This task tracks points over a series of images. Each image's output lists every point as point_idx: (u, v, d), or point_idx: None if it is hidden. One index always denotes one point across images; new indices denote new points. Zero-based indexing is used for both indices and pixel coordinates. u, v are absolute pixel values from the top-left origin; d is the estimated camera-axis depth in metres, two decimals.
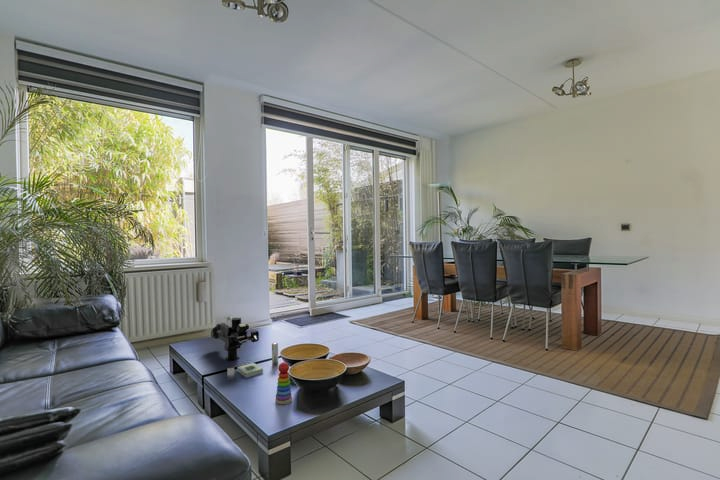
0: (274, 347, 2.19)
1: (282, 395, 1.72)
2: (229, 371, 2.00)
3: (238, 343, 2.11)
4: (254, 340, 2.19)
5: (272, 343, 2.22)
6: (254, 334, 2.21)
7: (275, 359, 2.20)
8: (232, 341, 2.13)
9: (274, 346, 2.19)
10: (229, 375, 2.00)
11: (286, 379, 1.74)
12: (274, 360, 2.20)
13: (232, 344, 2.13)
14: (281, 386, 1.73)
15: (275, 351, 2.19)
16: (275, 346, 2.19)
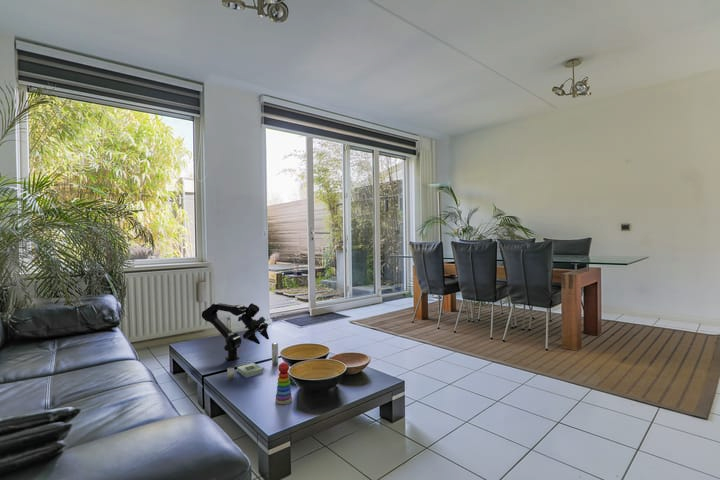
0: (274, 347, 2.19)
1: (282, 395, 1.72)
2: (229, 371, 2.00)
3: (255, 341, 2.19)
4: (264, 335, 2.29)
5: (272, 343, 2.22)
6: (266, 329, 2.30)
7: (275, 359, 2.20)
8: (250, 336, 2.18)
9: (274, 346, 2.19)
10: (229, 375, 2.00)
11: (286, 379, 1.74)
12: (274, 360, 2.20)
13: (248, 338, 2.18)
14: (281, 386, 1.73)
15: (275, 351, 2.19)
16: (275, 346, 2.19)
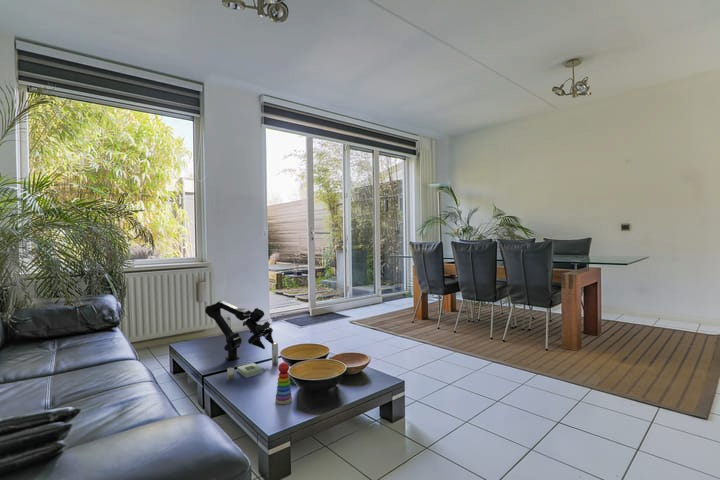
0: (274, 347, 2.19)
1: (282, 395, 1.72)
2: (229, 371, 2.00)
3: (260, 346, 2.18)
4: (269, 340, 2.28)
5: (272, 343, 2.22)
6: (270, 334, 2.29)
7: (275, 359, 2.20)
8: (255, 341, 2.17)
9: (274, 346, 2.19)
10: (229, 375, 2.00)
11: (286, 379, 1.74)
12: (274, 360, 2.20)
13: (253, 343, 2.17)
14: (281, 386, 1.73)
15: (275, 351, 2.19)
16: (275, 346, 2.19)
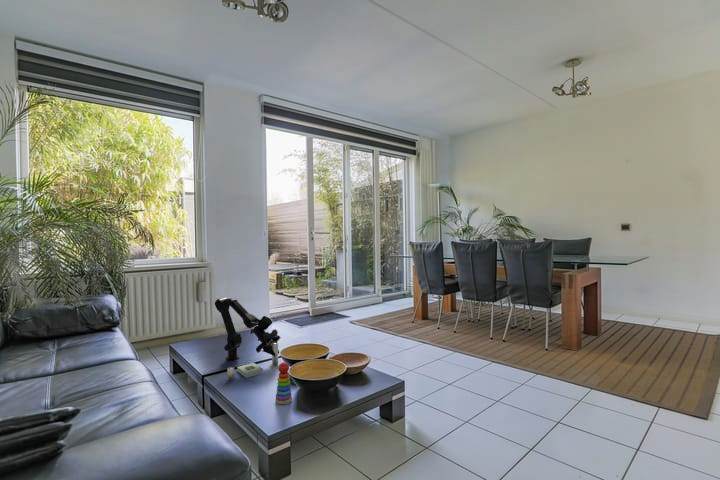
0: (274, 347, 2.19)
1: (282, 395, 1.72)
2: (229, 371, 2.00)
3: (271, 353, 2.19)
4: None
5: (272, 343, 2.22)
6: None
7: (275, 359, 2.20)
8: (266, 348, 2.17)
9: (274, 346, 2.19)
10: (229, 375, 2.00)
11: (286, 379, 1.74)
12: (274, 360, 2.20)
13: (264, 350, 2.18)
14: (281, 386, 1.73)
15: (275, 351, 2.19)
16: (275, 346, 2.19)
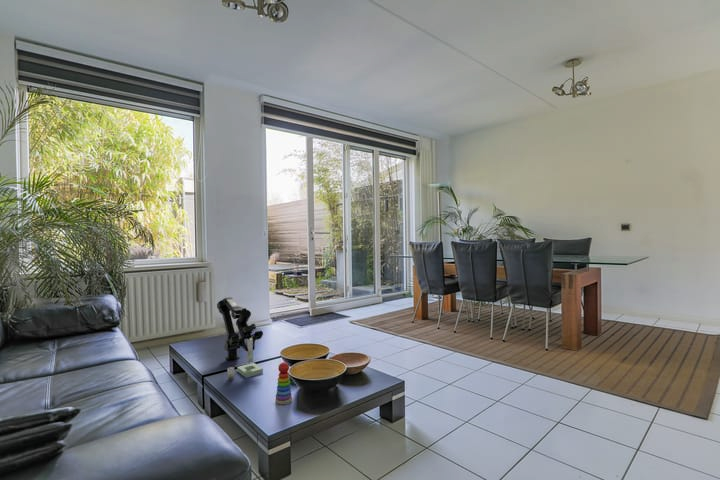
0: (247, 342, 2.09)
1: (282, 395, 1.72)
2: (229, 371, 2.00)
3: (244, 347, 2.09)
4: None
5: (248, 338, 2.12)
6: (254, 338, 2.13)
7: (248, 355, 2.09)
8: (239, 341, 2.09)
9: (247, 341, 2.09)
10: (229, 375, 2.00)
11: (286, 379, 1.74)
12: (247, 356, 2.09)
13: (238, 343, 2.10)
14: (281, 386, 1.73)
15: (248, 346, 2.09)
16: (248, 341, 2.08)
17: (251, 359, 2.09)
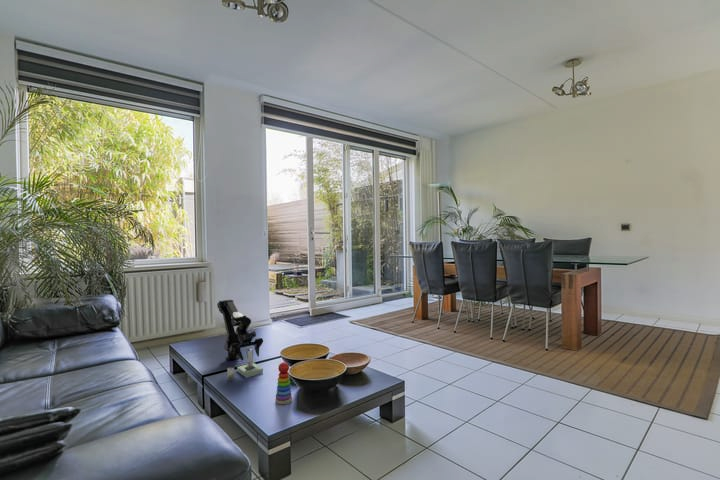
0: (247, 353, 2.09)
1: (282, 395, 1.72)
2: (229, 371, 2.00)
3: (239, 356, 2.07)
4: (256, 351, 2.15)
5: (248, 349, 2.12)
6: (258, 345, 2.15)
7: (248, 366, 2.09)
8: (235, 350, 2.08)
9: (247, 352, 2.09)
10: (229, 375, 2.00)
11: (286, 379, 1.74)
12: (247, 367, 2.09)
13: (234, 352, 2.09)
14: (281, 386, 1.73)
15: (248, 358, 2.09)
16: (248, 352, 2.09)
17: None
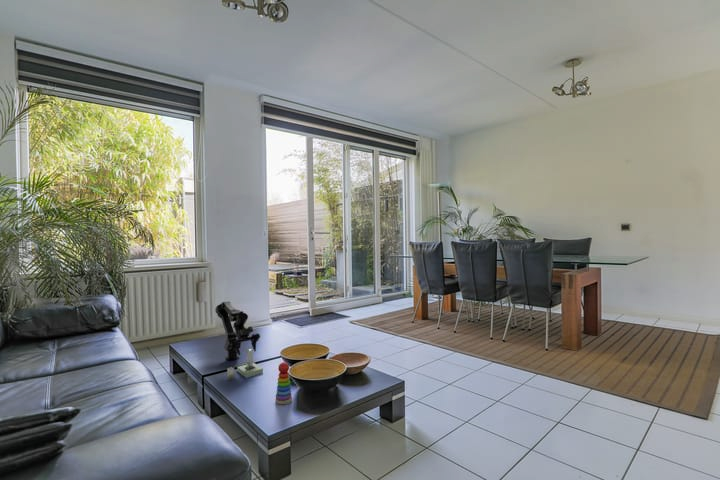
0: (247, 353, 2.09)
1: (282, 395, 1.72)
2: (229, 371, 2.00)
3: (236, 351, 2.10)
4: (253, 346, 2.18)
5: (248, 349, 2.12)
6: (255, 340, 2.18)
7: (248, 366, 2.09)
8: (232, 345, 2.11)
9: (247, 352, 2.09)
10: (229, 375, 2.00)
11: (286, 379, 1.74)
12: (247, 367, 2.09)
13: (231, 347, 2.12)
14: (281, 386, 1.73)
15: (248, 358, 2.09)
16: (248, 352, 2.09)
17: None
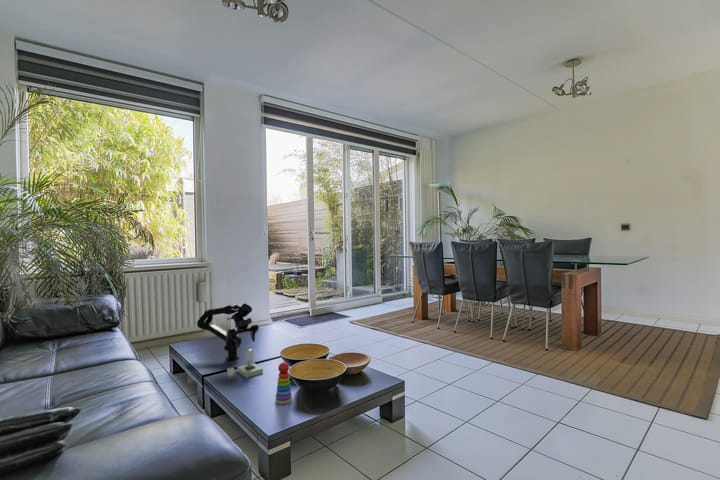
0: (247, 353, 2.09)
1: (282, 395, 1.72)
2: (229, 371, 2.00)
3: (236, 341, 2.18)
4: (252, 337, 2.25)
5: (248, 349, 2.12)
6: (254, 331, 2.26)
7: (248, 366, 2.09)
8: (231, 336, 2.19)
9: (247, 352, 2.09)
10: (229, 375, 2.00)
11: (286, 379, 1.74)
12: (247, 367, 2.09)
13: (230, 337, 2.20)
14: (281, 386, 1.73)
15: (248, 358, 2.09)
16: (248, 352, 2.09)
17: None
